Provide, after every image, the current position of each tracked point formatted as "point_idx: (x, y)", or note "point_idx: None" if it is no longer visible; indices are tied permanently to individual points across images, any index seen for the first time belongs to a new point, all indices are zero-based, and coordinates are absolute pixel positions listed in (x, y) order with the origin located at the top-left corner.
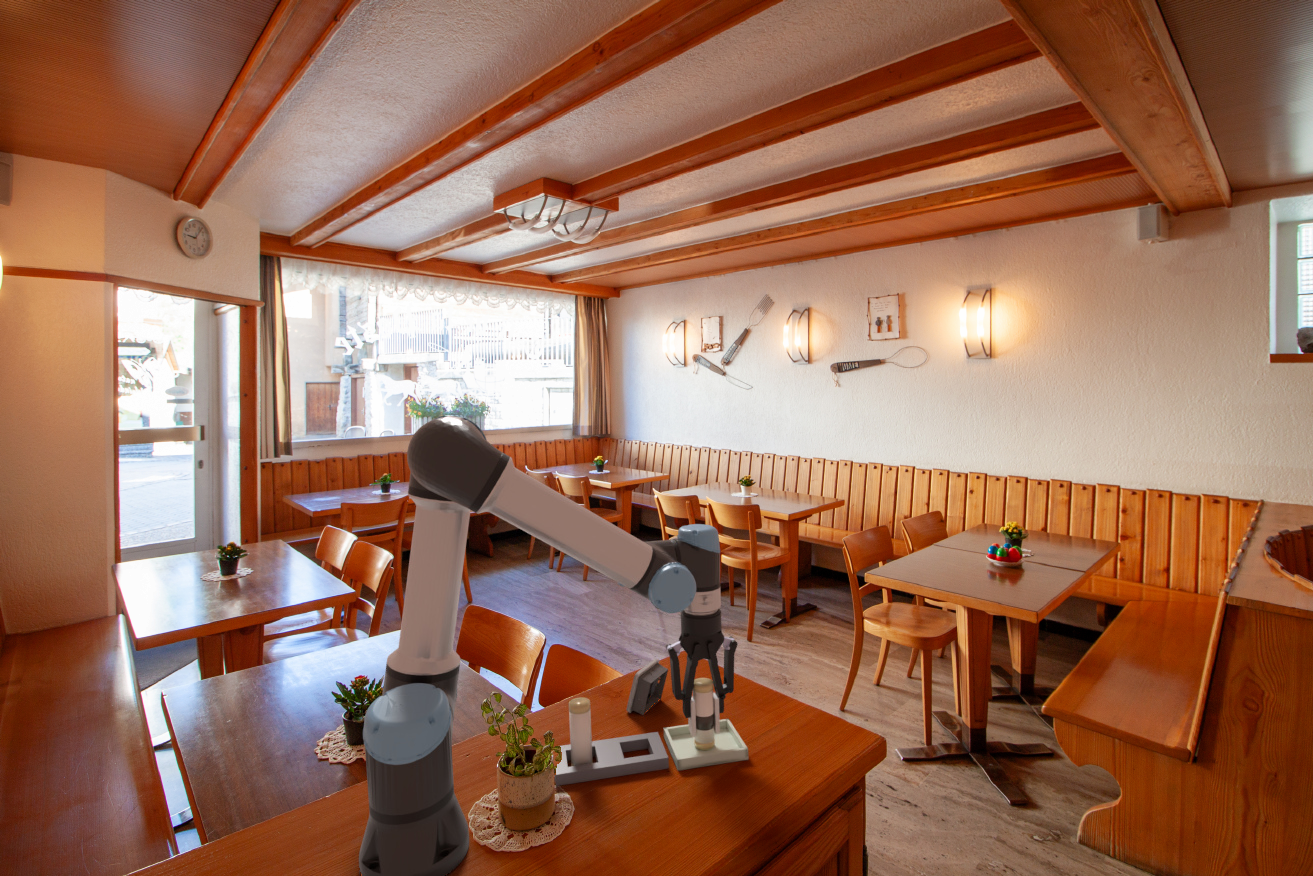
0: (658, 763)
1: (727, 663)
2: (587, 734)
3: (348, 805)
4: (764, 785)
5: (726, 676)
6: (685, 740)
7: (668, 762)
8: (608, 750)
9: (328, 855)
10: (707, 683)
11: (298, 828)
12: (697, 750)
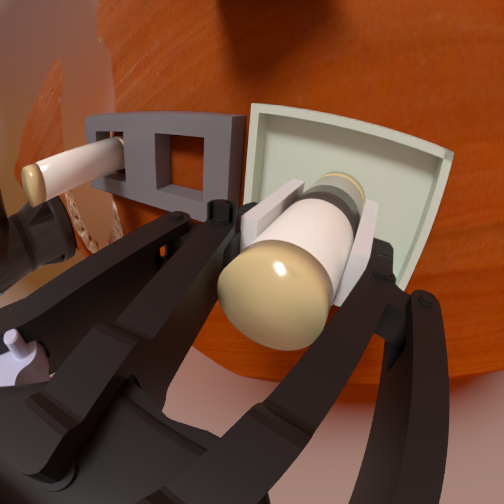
0: None
1: (367, 462)
2: (80, 184)
3: (26, 148)
4: (366, 347)
5: (386, 382)
6: (304, 149)
7: None
8: (138, 153)
9: None
10: (283, 332)
11: (22, 163)
12: None
